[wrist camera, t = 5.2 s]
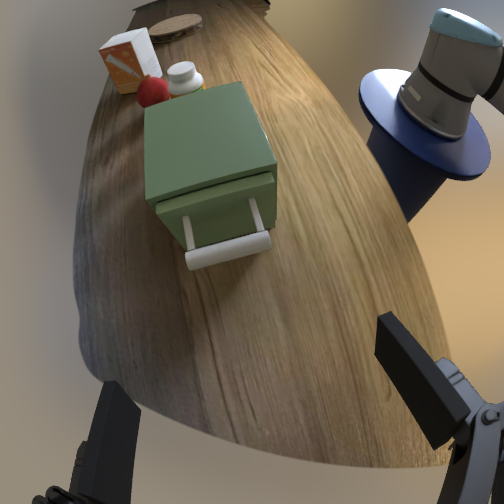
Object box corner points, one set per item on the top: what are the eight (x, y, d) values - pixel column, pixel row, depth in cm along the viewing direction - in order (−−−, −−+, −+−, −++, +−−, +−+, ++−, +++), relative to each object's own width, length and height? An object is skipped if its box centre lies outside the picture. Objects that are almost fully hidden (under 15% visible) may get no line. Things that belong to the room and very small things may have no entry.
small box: (120, 95, 45) (97, 50, 33) (133, 78, 47) (114, 35, 35) (151, 91, 44) (130, 40, 32) (163, 74, 46) (146, 26, 34)
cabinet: (276, 220, 32) (277, 163, 22) (181, 245, 32) (145, 200, 22) (248, 139, 37) (241, 80, 27) (170, 161, 36) (144, 108, 26)
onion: (145, 123, 40) (128, 89, 33) (143, 106, 42) (129, 74, 35) (176, 111, 40) (163, 75, 33) (173, 95, 43) (161, 61, 35)
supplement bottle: (202, 126, 38) (188, 77, 29) (173, 123, 39) (155, 78, 30) (215, 105, 40) (205, 58, 31) (187, 103, 41) (173, 59, 32)
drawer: (287, 268, 29) (293, 234, 21) (193, 293, 29) (162, 269, 20) (247, 147, 35) (241, 97, 27) (173, 168, 35) (151, 123, 27)
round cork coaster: (160, 47, 52) (157, 38, 49) (143, 37, 57) (141, 30, 55) (213, 26, 55) (211, 18, 52) (189, 18, 60) (187, 11, 57)
